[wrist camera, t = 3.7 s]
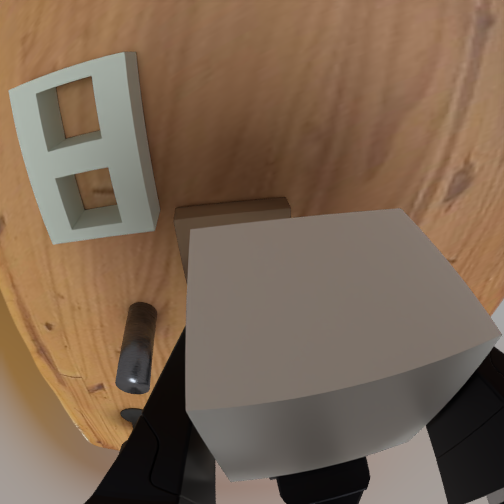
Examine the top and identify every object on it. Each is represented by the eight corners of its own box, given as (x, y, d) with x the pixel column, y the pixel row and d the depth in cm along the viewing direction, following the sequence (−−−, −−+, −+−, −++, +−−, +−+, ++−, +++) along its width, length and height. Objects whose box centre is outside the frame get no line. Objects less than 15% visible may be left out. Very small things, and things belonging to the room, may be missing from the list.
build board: (160, 209, 19) (154, 230, 17) (66, 223, 19) (52, 244, 17) (136, 51, 13) (124, 51, 11) (30, 83, 13) (8, 90, 11)
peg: (160, 321, 25) (153, 393, 20) (133, 323, 25) (122, 394, 19) (153, 301, 24) (143, 376, 18) (125, 303, 24) (110, 376, 18)
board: (282, 307, 26) (291, 340, 23) (198, 316, 25) (198, 350, 22) (285, 197, 20) (299, 225, 17) (175, 208, 19) (170, 238, 17)
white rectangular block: (365, 336, 11) (408, 441, 8) (219, 360, 11) (230, 482, 7) (401, 208, 8) (502, 334, 4) (190, 229, 7) (185, 411, 4)
